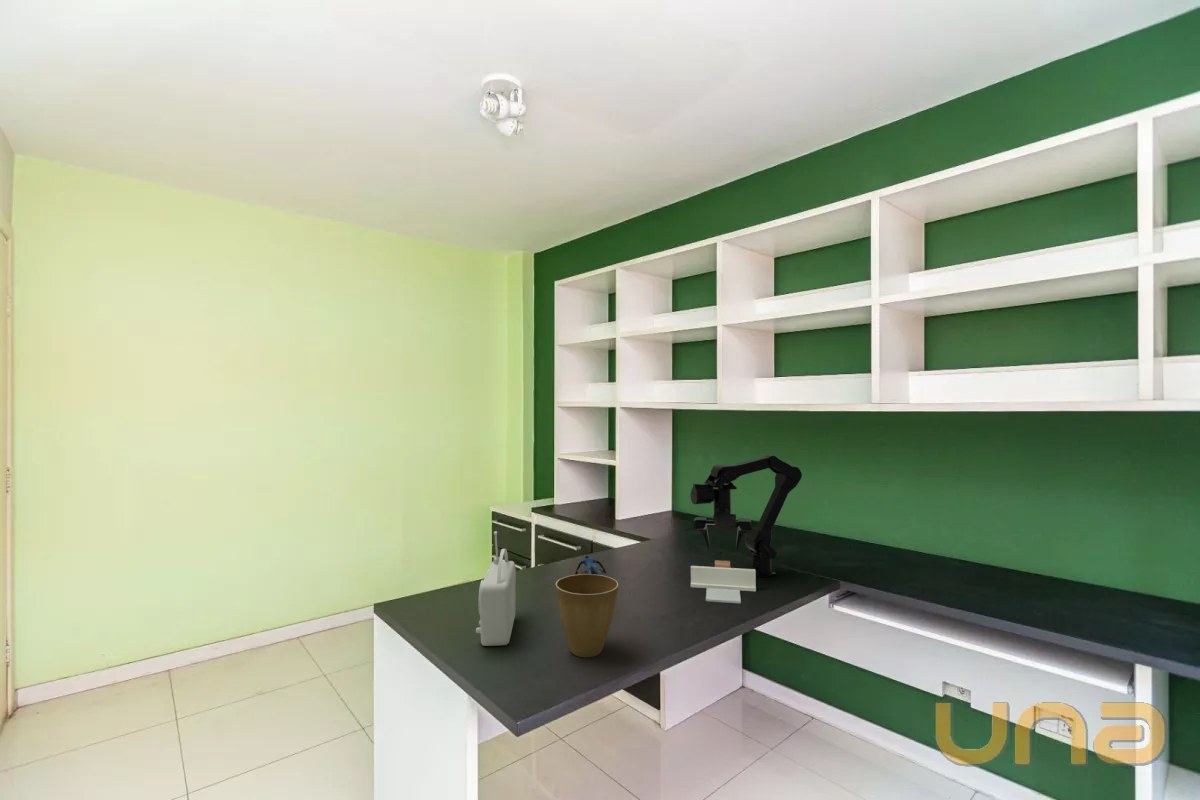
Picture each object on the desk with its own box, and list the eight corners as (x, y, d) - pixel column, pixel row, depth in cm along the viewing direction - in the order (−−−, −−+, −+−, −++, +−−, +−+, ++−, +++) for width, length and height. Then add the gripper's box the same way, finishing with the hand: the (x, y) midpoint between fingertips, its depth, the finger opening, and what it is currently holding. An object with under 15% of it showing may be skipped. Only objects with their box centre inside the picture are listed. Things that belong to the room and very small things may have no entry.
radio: (486, 615, 150) (485, 525, 151) (516, 615, 151) (515, 524, 151) (473, 651, 129) (472, 546, 129) (508, 650, 129) (508, 545, 129)
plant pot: (578, 672, 118) (578, 598, 119) (544, 647, 131) (544, 580, 131) (631, 653, 127) (631, 584, 127) (594, 632, 139) (594, 569, 139)
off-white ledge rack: (691, 583, 177) (691, 564, 177) (755, 587, 172) (754, 568, 172) (690, 587, 173) (690, 568, 173) (756, 591, 168) (755, 572, 169)
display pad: (706, 589, 170) (706, 587, 170) (739, 591, 168) (739, 590, 168) (705, 601, 160) (705, 599, 160) (740, 603, 158) (740, 601, 158)
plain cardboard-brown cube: (715, 574, 186) (714, 560, 186) (730, 575, 184) (729, 560, 185) (715, 579, 180) (714, 564, 180) (730, 580, 179) (730, 565, 179)
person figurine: (613, 588, 178) (600, 565, 195) (614, 575, 177) (601, 553, 194) (581, 591, 175) (571, 567, 193) (581, 577, 175) (571, 554, 192)
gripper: (692, 506, 177) (693, 554, 177) (752, 508, 173) (753, 557, 173) (694, 500, 188) (694, 545, 187) (750, 501, 184) (750, 548, 184)
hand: (722, 549), depth 182 cm, fingers open, 9 cm apart
